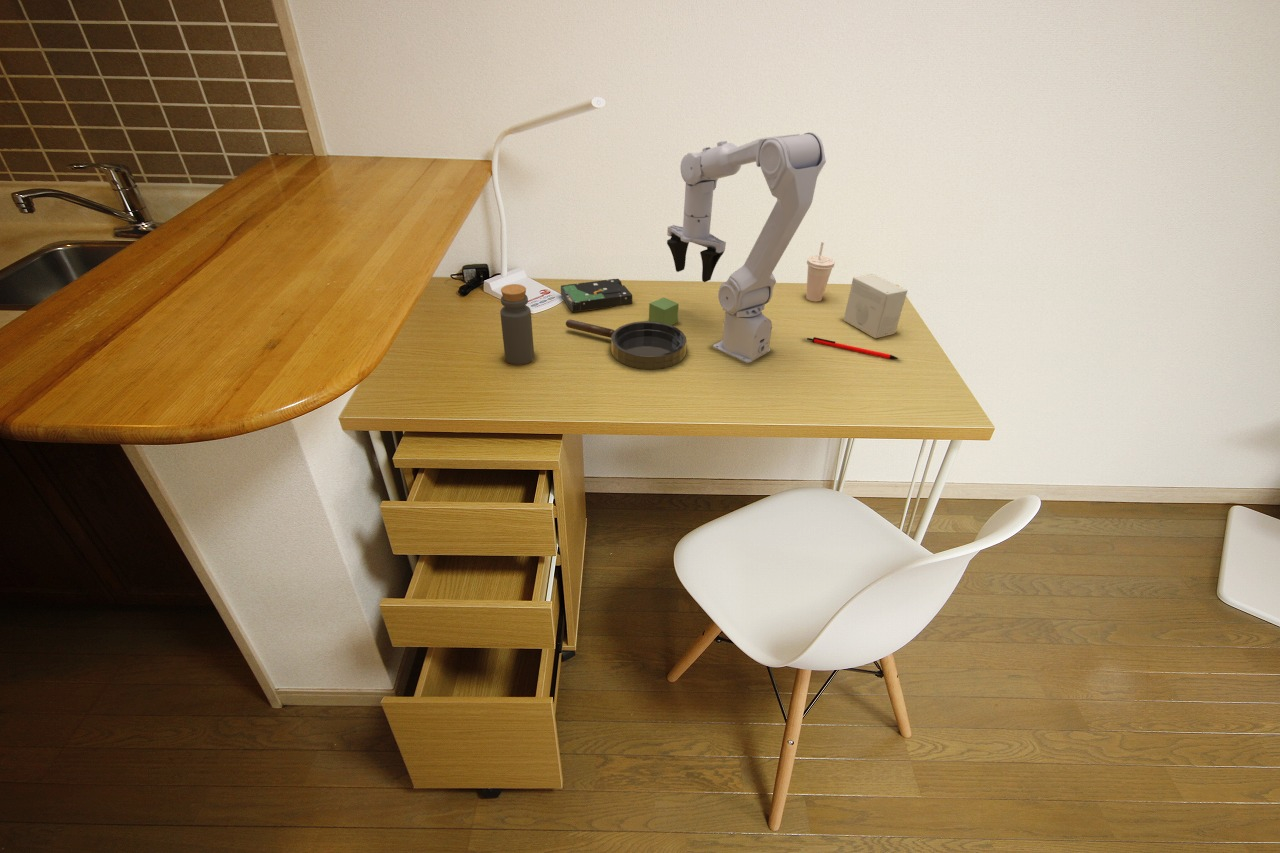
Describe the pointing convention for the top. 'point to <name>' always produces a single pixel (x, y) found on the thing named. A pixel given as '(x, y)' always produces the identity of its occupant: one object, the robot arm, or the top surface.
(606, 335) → the skillet handle
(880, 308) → the cosmetics box
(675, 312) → the block
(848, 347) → the pen
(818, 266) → the smoothie
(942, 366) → the top surface
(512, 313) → the bottle
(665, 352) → the skillet
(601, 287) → the disk drive
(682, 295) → the top surface
